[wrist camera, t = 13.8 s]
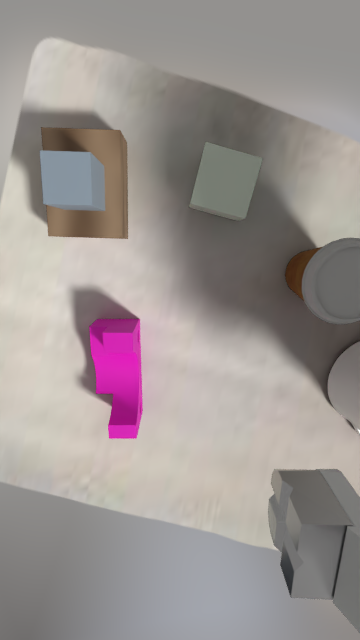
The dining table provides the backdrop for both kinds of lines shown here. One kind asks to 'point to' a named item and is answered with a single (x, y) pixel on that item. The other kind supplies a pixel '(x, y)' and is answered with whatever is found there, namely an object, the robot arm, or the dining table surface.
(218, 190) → the sage block
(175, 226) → the dining table surface
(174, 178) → the dining table surface
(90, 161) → the slate block
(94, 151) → the walnut pedestal
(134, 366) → the toy block
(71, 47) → the dining table surface
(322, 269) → the disposable coffee cup
